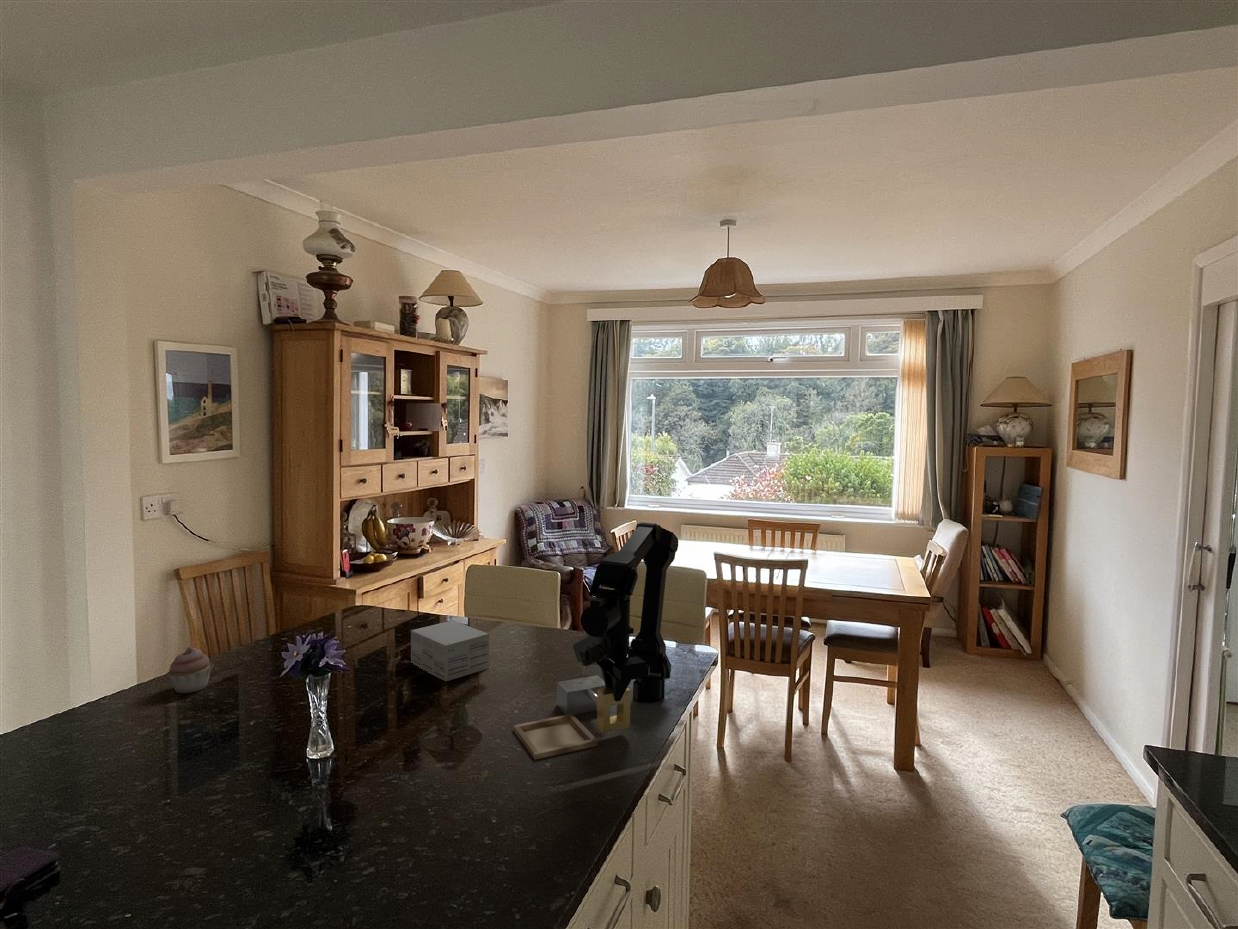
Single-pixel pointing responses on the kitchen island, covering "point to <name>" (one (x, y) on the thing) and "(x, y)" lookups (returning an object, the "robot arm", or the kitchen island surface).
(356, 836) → the kitchen island surface
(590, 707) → the vise block
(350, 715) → the kitchen island surface
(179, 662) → the cupcake
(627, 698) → the wooden block
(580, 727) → the tray
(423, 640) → the supplement box
